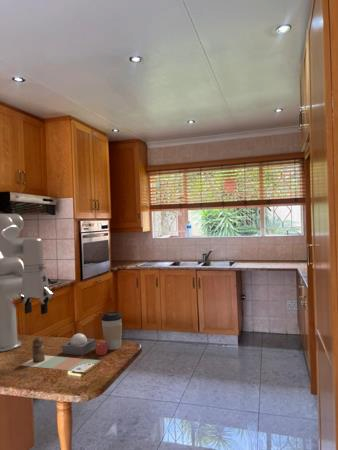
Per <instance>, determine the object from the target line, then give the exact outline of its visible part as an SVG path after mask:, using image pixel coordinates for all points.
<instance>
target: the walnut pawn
mask: <svg viewBox="0 0 338 450" xmlns="http://www.w3.org/2000/svg"><path fill="white" fill-rule="evenodd" d="M31 348H32V350H31V351H32V358H33V362H34V363H39V362H43V361H44V360H45V356H44V355H45V344H44V340H43V339H42V338H41V337H35V338H34V339H33V340H32V346H31Z"/></svg>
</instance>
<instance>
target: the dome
mask: <svg viewBox="0 0 338 450" xmlns="http://www.w3.org/2000/svg"><path fill="white" fill-rule="evenodd" d="M87 339H88V338H87V337H86V335H85V334H83V333H79V332H78V333H76V334H73V335H72V337H71V338H70V341H71V342H70V345H79V346H82V345H83V344H85V343H87Z"/></svg>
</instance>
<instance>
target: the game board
mask: <svg viewBox="0 0 338 450" xmlns="http://www.w3.org/2000/svg"><path fill="white" fill-rule="evenodd" d="M44 356H45V360H44V361H43V362H39V363H34V362H33V357H32V358H31V359H29V360H27V361H25V362H24V363H21V364H20V366H23V367H24V366H25V367H32V368H33V367H35V368H40V369H41V368H44V369H51V370H52V369H53V370H61V371H62V370H63V371H71V370H72V369H74V368H75V367H77V366H79V365H82V364H86V363H92V364H94V365H93V366H92V367H91V368H90V369H92V368H93V367H94V368H96V367H97V366H98V365H100V364H102V361H103V360H101V359H100V360H99V359H91V358H90V359H89V358H80V357H79V358H78V357H77V358H76V357H70V356H69V357H67V356H56V355H55V356H53V355H47V354H44ZM95 366H96V367H95ZM94 368H93V369H94ZM90 369H88V370H86V371H85V372H84V373H85V374H87V372H88V373H89V372H90V371H91V370H90ZM93 369H92V370H93ZM89 370H90V371H89ZM71 372H72V371H71ZM84 373H83V374H84Z"/></svg>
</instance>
